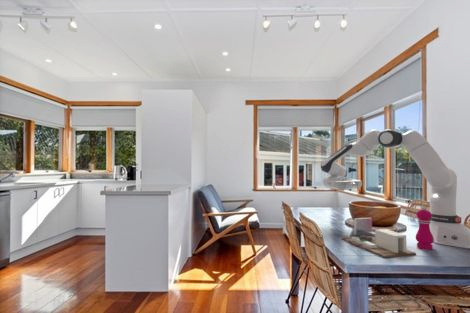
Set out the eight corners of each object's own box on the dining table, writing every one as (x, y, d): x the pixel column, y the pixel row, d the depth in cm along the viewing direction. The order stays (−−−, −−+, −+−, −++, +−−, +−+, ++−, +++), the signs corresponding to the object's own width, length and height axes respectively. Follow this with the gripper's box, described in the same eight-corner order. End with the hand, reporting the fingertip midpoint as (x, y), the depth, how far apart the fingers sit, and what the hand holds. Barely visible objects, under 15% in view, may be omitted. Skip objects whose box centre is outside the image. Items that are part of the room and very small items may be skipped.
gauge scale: (351, 240, 140) (351, 237, 140) (356, 239, 141) (356, 236, 141) (371, 248, 126) (371, 245, 127) (376, 247, 127) (376, 244, 127)
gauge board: (341, 239, 145) (341, 237, 146) (368, 237, 149) (368, 235, 149) (383, 258, 116) (383, 255, 116) (415, 255, 120) (415, 252, 120)
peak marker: (359, 239, 134) (359, 236, 134) (364, 239, 135) (364, 235, 135) (360, 240, 133) (360, 236, 133) (366, 239, 134) (365, 236, 134)
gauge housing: (375, 245, 132) (375, 229, 132) (386, 244, 133) (385, 229, 133) (395, 252, 120) (395, 236, 120) (406, 251, 121) (406, 235, 122)
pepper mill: (412, 245, 134) (411, 205, 134) (425, 245, 134) (424, 205, 135) (423, 250, 127) (422, 208, 127) (437, 250, 127) (436, 207, 128)
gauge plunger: (347, 237, 143) (347, 218, 144) (370, 236, 146) (370, 217, 147) (374, 248, 124) (374, 227, 124) (400, 246, 127) (399, 225, 128)
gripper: (325, 178, 174) (338, 179, 160) (353, 178, 179) (367, 179, 165) (326, 188, 174) (338, 190, 160) (353, 187, 178) (368, 189, 165)
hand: (353, 184), depth 163 cm, fingers closed
